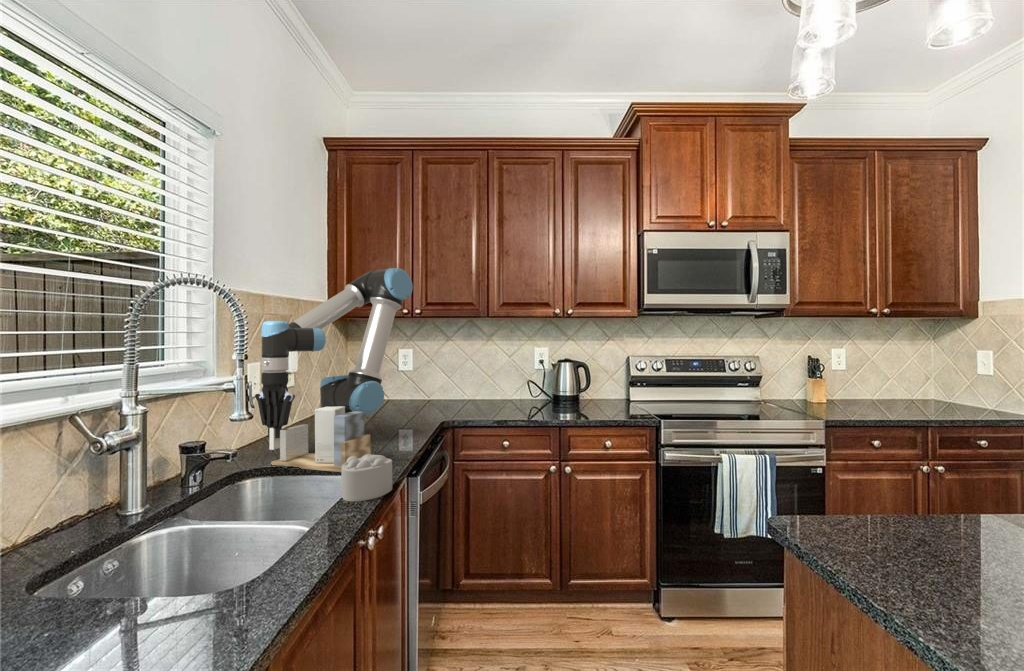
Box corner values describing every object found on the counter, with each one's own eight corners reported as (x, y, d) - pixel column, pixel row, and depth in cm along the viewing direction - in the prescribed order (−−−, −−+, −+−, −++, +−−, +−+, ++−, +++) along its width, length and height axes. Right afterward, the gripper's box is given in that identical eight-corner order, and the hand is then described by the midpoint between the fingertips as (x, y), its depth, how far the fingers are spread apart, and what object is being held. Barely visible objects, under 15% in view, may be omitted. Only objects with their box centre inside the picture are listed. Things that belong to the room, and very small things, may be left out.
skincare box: (335, 463, 151) (335, 409, 151) (313, 463, 152) (312, 409, 152) (346, 457, 160) (346, 405, 160) (325, 456, 160) (325, 405, 160)
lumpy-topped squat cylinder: (397, 487, 133) (397, 453, 132) (368, 503, 120) (368, 465, 120) (361, 484, 136) (361, 450, 136) (330, 499, 123) (329, 462, 123)
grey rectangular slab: (302, 453, 164) (302, 424, 164) (308, 453, 164) (308, 424, 164) (280, 460, 155) (280, 429, 155) (285, 461, 154) (285, 430, 154)
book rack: (300, 456, 166) (300, 407, 166) (370, 461, 159) (370, 411, 159) (270, 466, 154) (270, 414, 154) (345, 472, 147) (345, 417, 147)
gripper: (248, 371, 159) (247, 449, 159) (284, 372, 156) (283, 452, 155) (266, 370, 166) (266, 445, 166) (301, 371, 163) (300, 447, 163)
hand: (274, 448), depth 161 cm, fingers closed
